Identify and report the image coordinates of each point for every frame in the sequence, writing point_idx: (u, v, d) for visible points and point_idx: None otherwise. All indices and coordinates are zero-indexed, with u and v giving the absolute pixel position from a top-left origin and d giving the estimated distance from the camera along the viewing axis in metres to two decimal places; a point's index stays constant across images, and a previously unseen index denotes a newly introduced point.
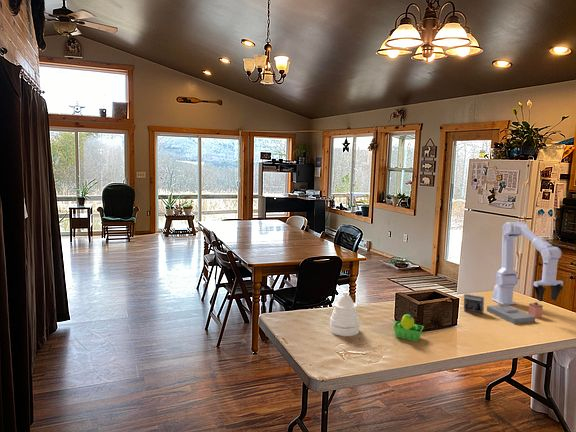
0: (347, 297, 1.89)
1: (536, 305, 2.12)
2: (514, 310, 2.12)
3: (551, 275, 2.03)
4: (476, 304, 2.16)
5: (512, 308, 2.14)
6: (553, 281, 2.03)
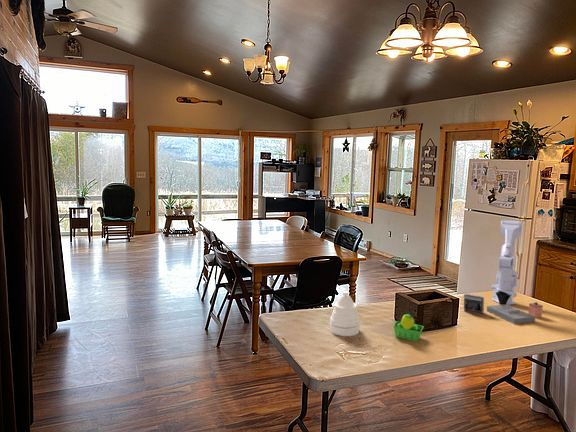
0: (347, 297, 1.89)
1: (536, 305, 2.12)
2: (516, 311, 2.11)
3: (498, 281, 2.17)
4: (476, 304, 2.16)
5: (514, 309, 2.13)
6: (499, 287, 2.16)
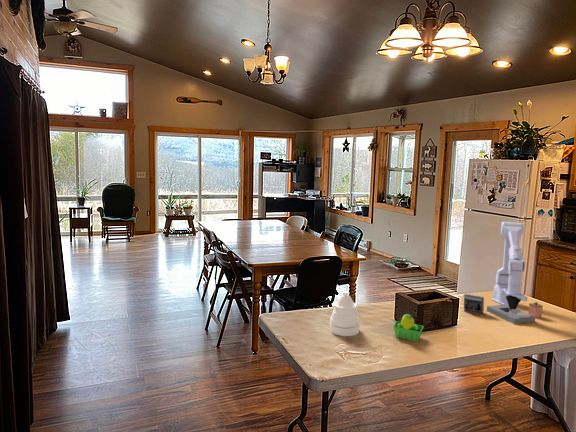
0: (347, 297, 1.89)
1: (536, 305, 2.12)
2: (526, 315, 2.05)
3: (508, 285, 2.11)
4: (476, 304, 2.16)
5: (524, 313, 2.06)
6: (509, 291, 2.10)
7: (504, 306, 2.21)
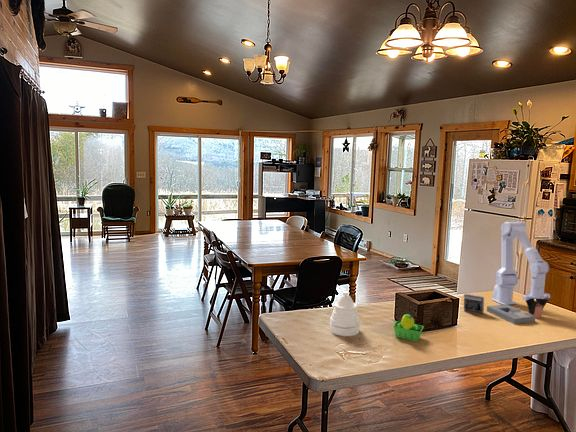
0: (347, 297, 1.89)
1: (536, 305, 2.12)
2: (526, 315, 2.05)
3: (539, 289, 2.09)
4: (476, 304, 2.16)
5: (524, 313, 2.06)
6: (541, 295, 2.10)
7: (504, 306, 2.21)
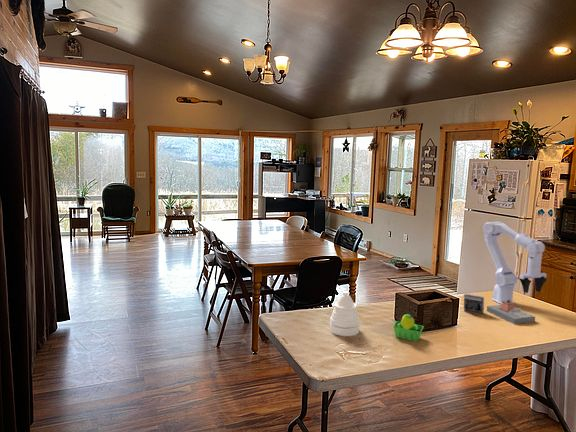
0: (347, 297, 1.89)
1: (508, 303, 2.13)
2: (526, 315, 2.05)
3: (536, 268, 2.16)
4: (476, 304, 2.16)
5: (524, 313, 2.06)
6: (538, 274, 2.16)
7: None
